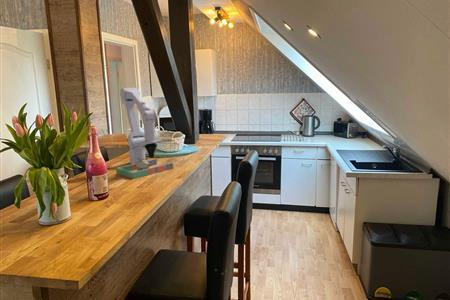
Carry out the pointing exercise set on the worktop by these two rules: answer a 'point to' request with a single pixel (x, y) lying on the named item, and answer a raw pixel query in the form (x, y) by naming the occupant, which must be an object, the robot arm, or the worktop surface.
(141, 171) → the trap track
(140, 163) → the game die
